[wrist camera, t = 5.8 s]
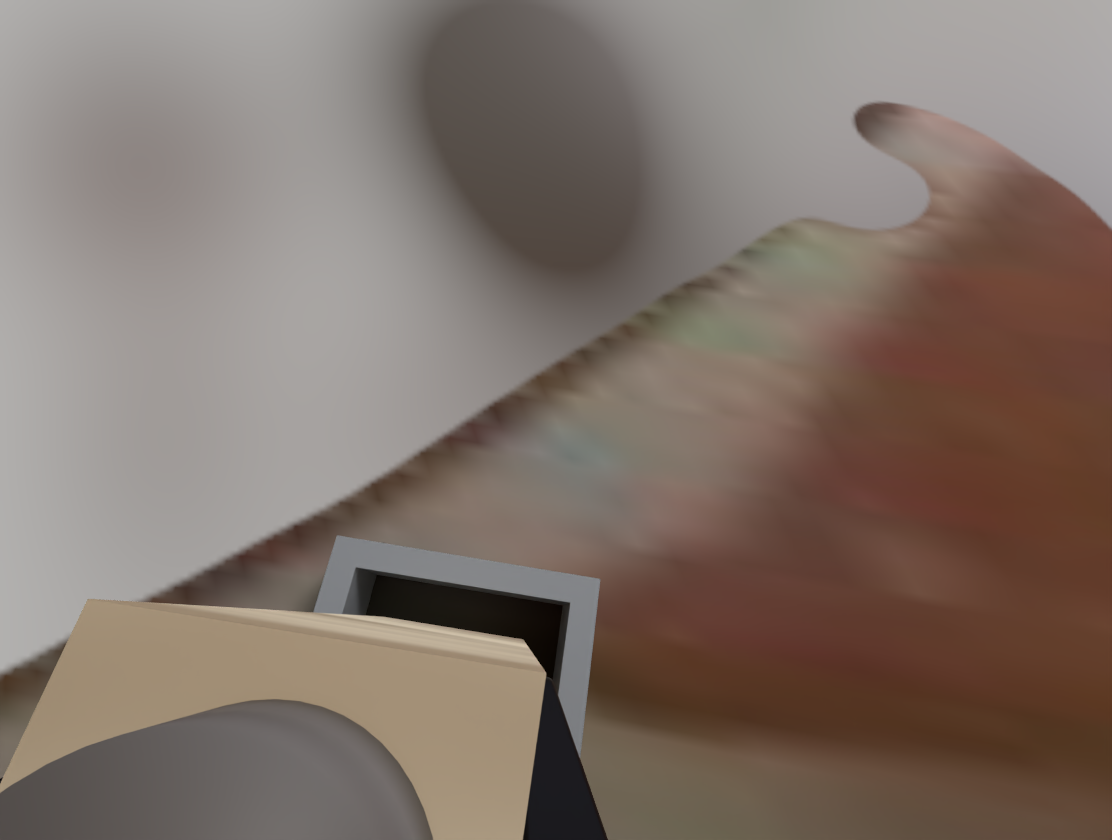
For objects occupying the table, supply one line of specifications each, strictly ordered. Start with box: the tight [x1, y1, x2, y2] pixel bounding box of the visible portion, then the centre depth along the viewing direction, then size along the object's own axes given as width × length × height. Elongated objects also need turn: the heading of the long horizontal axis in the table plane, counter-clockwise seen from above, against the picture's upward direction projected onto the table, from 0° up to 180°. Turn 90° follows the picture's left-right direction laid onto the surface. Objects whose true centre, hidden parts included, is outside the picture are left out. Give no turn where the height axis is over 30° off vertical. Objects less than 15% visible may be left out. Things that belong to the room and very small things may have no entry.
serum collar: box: [313, 536, 600, 757], centre depth 15 cm, size 8×8×2 cm
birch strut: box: [0, 599, 546, 840], centre depth 8 cm, size 4×4×12 cm
